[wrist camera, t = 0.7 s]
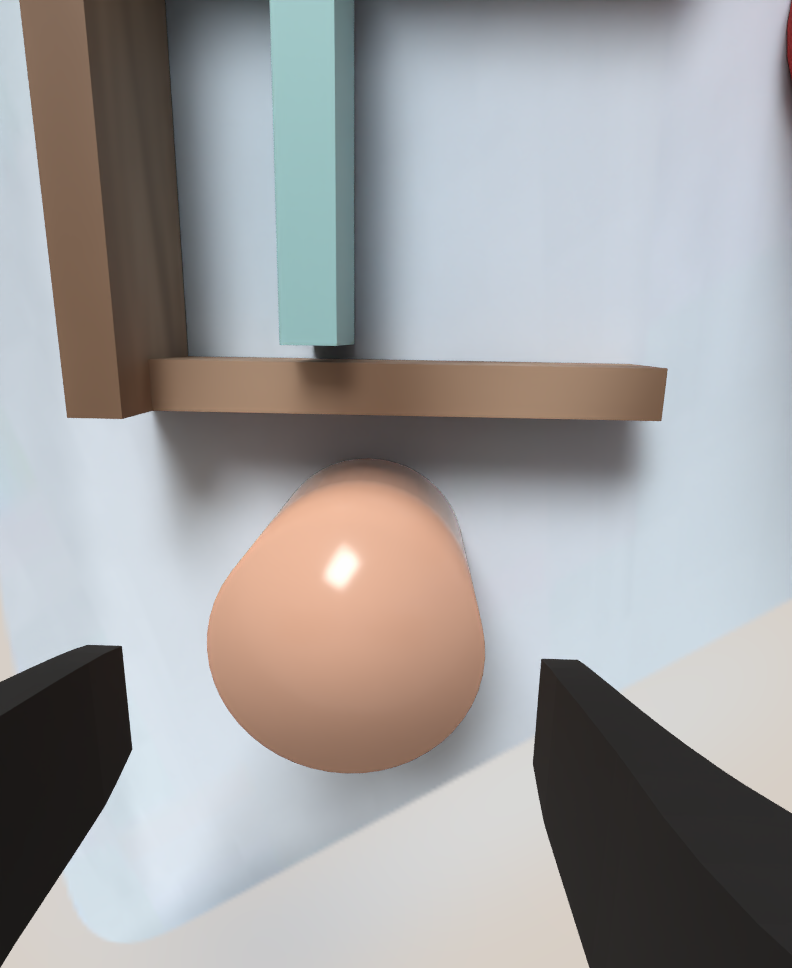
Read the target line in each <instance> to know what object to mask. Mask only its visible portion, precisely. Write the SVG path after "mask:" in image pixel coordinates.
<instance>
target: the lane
mask: <svg viewBox="0 0 792 968" xmlns="http://www.w3.org/2000/svg"><path fill="white" fill-rule="evenodd" d="M19 2H20V10H21V19H22V28H23V36H24V45H25V54H26V63H27V71H28V80H29V89H30V97H31V106H32V115H33V124H34V132H35V141H36V150H37V159H38V167H39V176H40V185H41V193H42V202H43V211H44V220H45V228H46V237H47V246H48V254H49V263H50V272H51V281H52V289H53V298H54V307H55V315H56V324H57V333H58V342H59V350H60V359H61V368H62V376H63V385H64V394H65V403H66V411H67V418H105V419H124V418H127V417H131V416H135V415H138V414H142V413H146V412H149V411H193V412H242V413H291V414H340V415H389V416H438V417H487V418H536V419H585V420H634V421H661V419H662V411H663V403H664V394H665V386H666V378H667V370H668V369H667V368H658V367H650V366H642V365H633V364H597V363H541V362H484V361H427V360H370V359H314V358H257V357H200V356H188V348H187V332H186V317H185V301H184V286H183V271H182V255H181V240H180V225H179V209H178V194H177V178H176V163H175V148H174V132H173V117H172V102H171V86H170V71H169V55H168V40H167V25H166V9H165V0H19Z"/></svg>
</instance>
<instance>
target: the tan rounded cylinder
mask: <svg viewBox="0 0 792 968" xmlns="http://www.w3.org/2000/svg"><path fill="white" fill-rule="evenodd" d="M207 652H208V659H209V666H210V670H211V673H212V677H213V680H214V683H215V686H216V688H217V690H218V692H219V695H220V697H221V699H222V700H223V702H224V704H225V705H226V707H227V709H228V710H229V712H230V713H231V714H232V716H233V717H234V718H235V719H236V721H237V722H238V723H239V724H240V725H241V726H242V727H243V728H244V729H245V730H246V731H247V732H248V733H249V734H250V735H251V736H252V737H253V738H254V739H256V740H257V741H258V742H259V743H261V744H262V745H263V746H265V747H266V748H268V749H269V750H271V751H273V752H274V753H276V754H278V755H279V756H281V757H284V758H286V759H288V760H290V761H292V762H295V763H297V764H300V765H303V766H306V767H309V768H313V769H318V770H323V771H327V772H337V773H367V772H374V771H381V770H385V769H389V768H393V767H397V766H399V765H402V764H404V763H407V762H410V761H412V760H414V759H416V758H418V757H420V756H422V755H423V754H425V753H427V752H429V751H430V750H431V749H433V748H434V747H436V746H437V745H438V744H440V743H441V742H442V741H443V740H444V739H445V738H447V737H448V736H449V735H450V734H451V733H452V732H453V731H454V730H455V728H456V727H457V726H458V725H459V724H460V722H461V721H462V720H463V719H464V717H465V715H466V714H467V712H468V711H469V709H470V707H471V706H472V704H473V701H474V699H475V697H476V695H477V692H478V690H479V686H480V683H481V679H482V676H483V669H484V661H485V641H484V635H483V629H482V623H481V619H480V615H479V610H478V606H477V601H476V597H475V593H474V588H473V584H472V579H471V575H470V570H469V566H468V562H467V557H466V553H465V548H464V544H463V540H462V535H461V531H460V527H459V524H458V521H457V518H456V515H455V513H454V511H453V509H452V507H451V505H450V504H449V502H448V501H447V499H446V498H445V496H444V495H443V494H442V493H441V492H440V490H439V489H438V488H437V487H436V486H435V485H434V484H433V483H431V482H430V481H429V480H428V479H427V478H425V477H424V476H422V475H421V474H419V473H418V472H416V471H414V470H412V469H410V468H408V467H406V466H404V465H401V464H398V463H395V462H392V461H387V460H382V459H371V458H365V459H353V460H347V461H343V462H339V463H336V464H333V465H331V466H329V467H326V468H324V469H322V470H320V471H319V472H317V473H316V474H314V475H312V476H311V477H310V478H309V479H307V480H306V481H305V482H304V483H303V484H302V485H301V486H300V487H299V488H298V489H297V490H296V491H295V492H294V494H293V495H292V496H291V497H290V499H289V500H288V501H287V502H286V504H285V505H284V506H283V507H282V509H281V510H280V511H279V512H278V514H277V515H276V516H275V517H274V519H273V520H272V521H271V522H270V524H269V525H268V526H267V527H266V529H265V530H264V531H263V532H262V534H261V535H260V536H259V537H258V539H257V540H256V541H255V542H254V544H253V545H252V546H251V547H250V549H249V550H248V551H247V553H246V554H245V555H244V556H243V558H242V559H241V560H240V561H239V563H238V564H237V565H236V566H235V568H234V569H233V570H232V571H231V573H230V574H229V576H228V577H227V579H226V580H225V582H224V583H223V585H222V586H221V589H220V591H219V593H218V595H217V597H216V599H215V601H214V605H213V608H212V611H211V614H210V619H209V625H208V632H207Z"/></svg>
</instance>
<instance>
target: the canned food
mask: <svg viewBox="0 0 792 968" xmlns="http://www.w3.org/2000/svg"><path fill="white" fill-rule="evenodd" d="M787 58H788V63H789V69H790V74H791V79H792V2H791V7H790V13H789V18H788V25H787Z"/></svg>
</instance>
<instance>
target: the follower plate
mask: <svg viewBox="0 0 792 968" xmlns="http://www.w3.org/2000/svg"><path fill="white" fill-rule="evenodd" d="M270 33H271V67H272V101H273V135H274V169H275V203H276V238H277V272H278V306H279V340H280V345H319V346H340V345H351V344H354V0H270Z"/></svg>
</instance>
